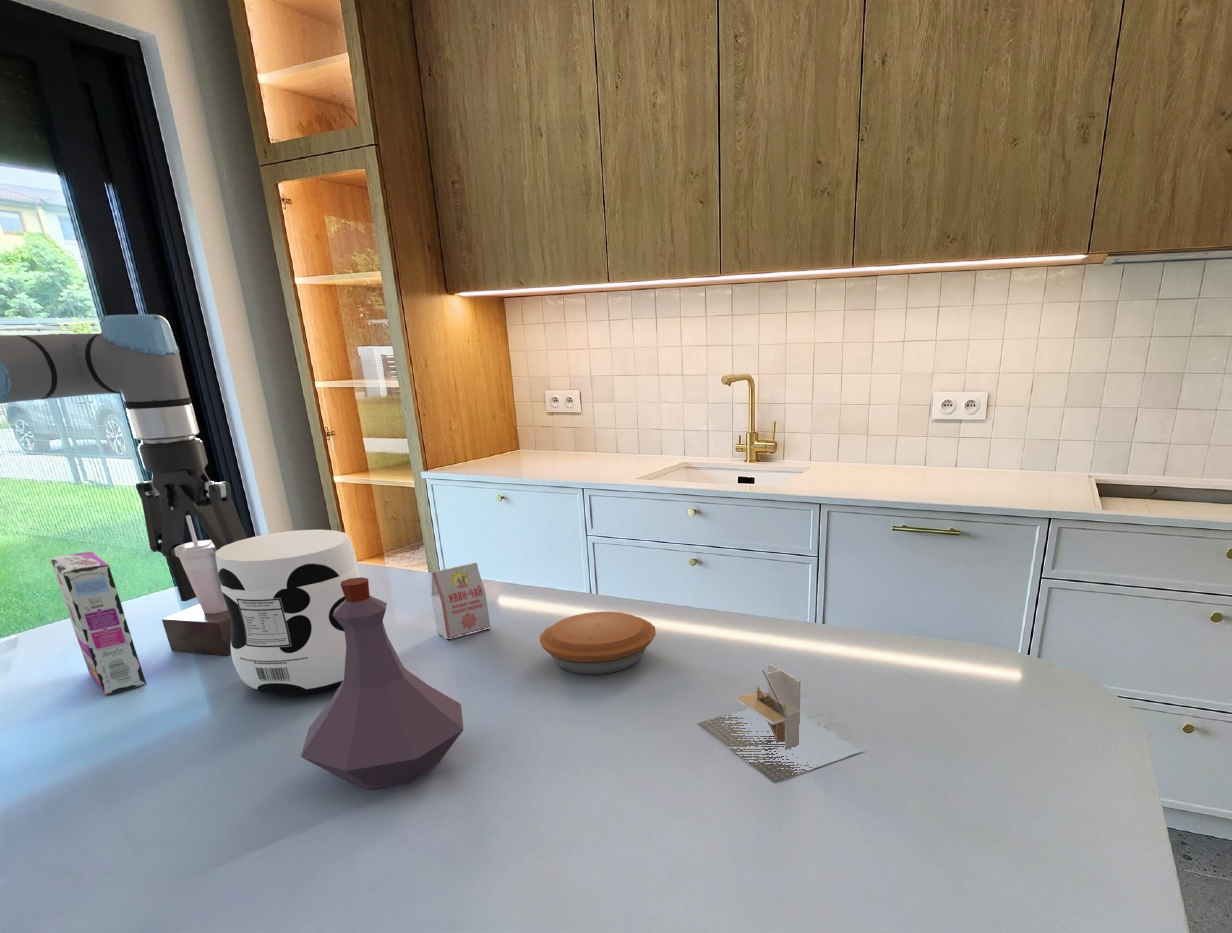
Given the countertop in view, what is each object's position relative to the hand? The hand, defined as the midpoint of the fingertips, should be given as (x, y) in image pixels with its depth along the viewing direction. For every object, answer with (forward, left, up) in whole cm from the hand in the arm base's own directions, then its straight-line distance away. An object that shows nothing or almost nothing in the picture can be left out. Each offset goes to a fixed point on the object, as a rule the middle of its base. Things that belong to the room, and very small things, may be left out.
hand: (214, 599), depth 115 cm
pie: (+58, +4, -7) cm, 59 cm away
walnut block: (0, 0, -7) cm, 7 cm away
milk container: (+23, -9, -7) cm, 26 cm away
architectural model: (+85, -13, -7) cm, 86 cm away
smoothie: (0, 0, -2) cm, 2 cm away
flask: (+47, -27, -7) cm, 55 cm away
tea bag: (+34, +10, -7) cm, 36 cm away
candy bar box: (-4, -15, -7) cm, 16 cm away
